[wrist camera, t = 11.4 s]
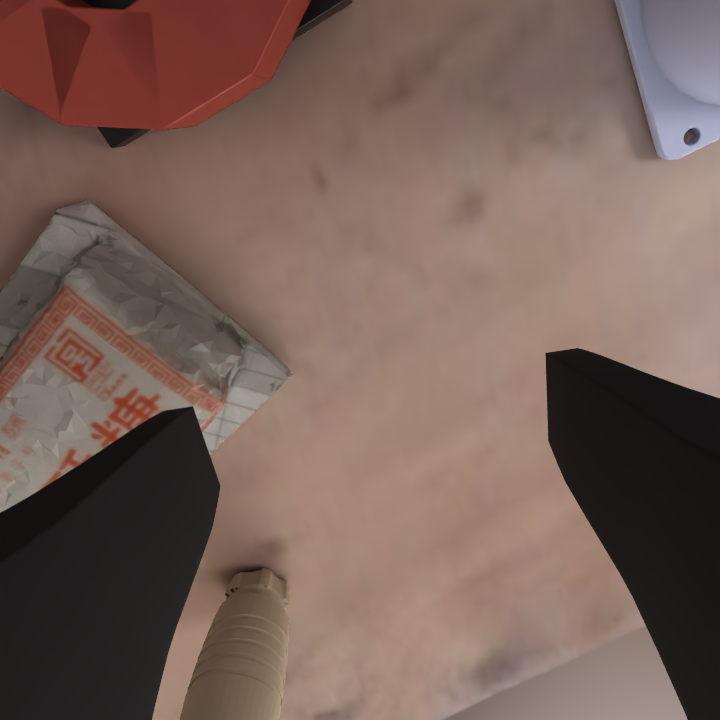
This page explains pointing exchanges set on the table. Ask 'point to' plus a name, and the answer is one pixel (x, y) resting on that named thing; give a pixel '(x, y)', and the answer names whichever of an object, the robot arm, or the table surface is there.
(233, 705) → the handle
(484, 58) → the table surface
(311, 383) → the table surface
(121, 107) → the ring
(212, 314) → the packaged product
